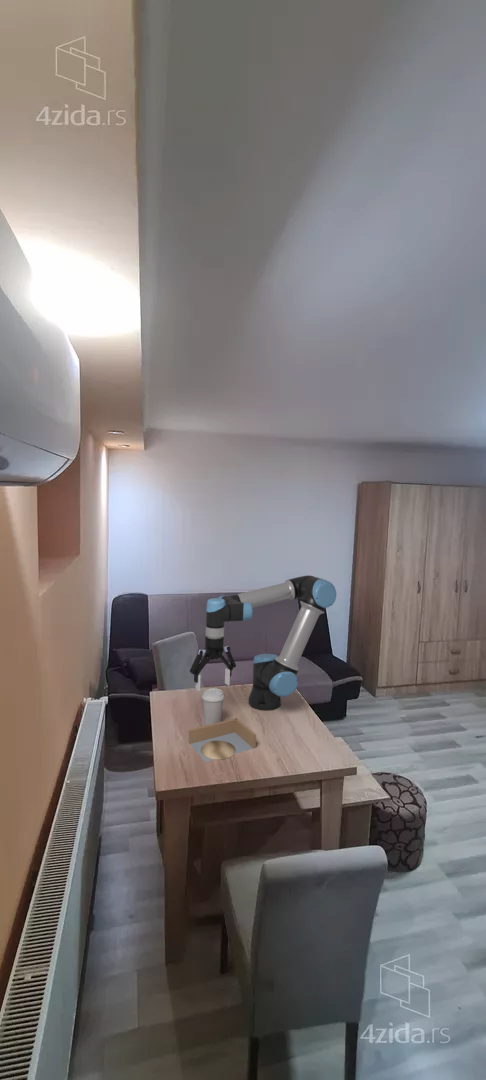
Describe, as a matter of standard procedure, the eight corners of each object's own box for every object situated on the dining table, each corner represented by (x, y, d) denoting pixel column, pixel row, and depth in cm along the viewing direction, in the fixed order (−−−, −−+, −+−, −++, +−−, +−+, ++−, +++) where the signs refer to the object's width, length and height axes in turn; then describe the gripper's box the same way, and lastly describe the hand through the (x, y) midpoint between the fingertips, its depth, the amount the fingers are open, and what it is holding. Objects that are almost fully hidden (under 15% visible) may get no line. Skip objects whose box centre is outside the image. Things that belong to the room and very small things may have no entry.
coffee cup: (220, 733, 186) (221, 697, 185) (197, 730, 188) (198, 695, 187) (226, 723, 196) (227, 688, 195) (204, 720, 198) (205, 686, 196)
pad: (225, 738, 181) (225, 737, 181) (241, 754, 170) (241, 753, 170) (194, 746, 175) (194, 745, 175) (210, 763, 164) (210, 762, 164)
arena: (235, 732, 188) (236, 718, 188) (255, 749, 175) (256, 734, 175) (188, 744, 177) (188, 729, 177) (205, 764, 165) (206, 748, 164)
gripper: (236, 630, 199) (234, 679, 200) (182, 637, 186) (181, 688, 187) (245, 635, 192) (243, 685, 194) (190, 642, 179) (188, 695, 181)
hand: (212, 687), depth 191 cm, fingers open, 13 cm apart
